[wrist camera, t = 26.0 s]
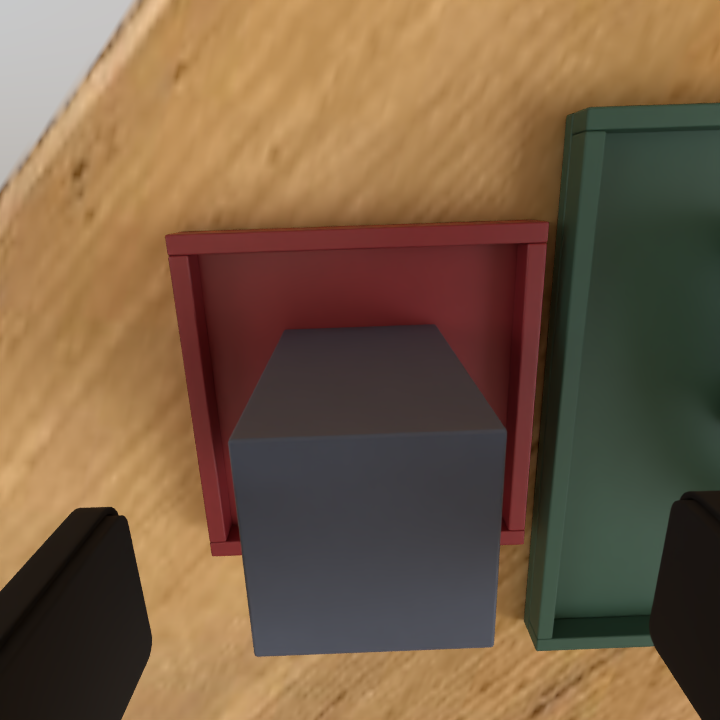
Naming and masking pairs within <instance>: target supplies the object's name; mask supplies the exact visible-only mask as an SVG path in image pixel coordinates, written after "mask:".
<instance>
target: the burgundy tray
mask: <svg viewBox="0 0 720 720" xmlns="http://www.w3.org/2000/svg"><path fill="white" fill-rule="evenodd" d="M548 230H549V222H547V221H538V220H508V221H479V222H450V223H421V224H392V225H363V226H334V227H305V228H276V229H247V230H218V231H189V232H178V233H173V234H168V235H165V239H166V246H167V253H168V255H169V258H168V259H169V266H170V272H171V279H172V286H173V293H174V300H175V307H176V313H177V320H178V327H179V334H180V341H181V347H182V354H183V361H184V368H185V375H186V382H187V388H188V395H189V402H190V409H191V416H192V422H193V429H194V436H195V443H196V450H197V457H198V463H199V470H200V477H201V484H202V491H203V497H204V504H205V511H206V518H207V525H208V532H209V538H210V546H211V553H212V556H233V555H242V551H241V543H240V535H239V527H238V519H237V511H236V503H235V495H234V487H233V479H232V471H231V463H230V455H229V447H228V441H229V438H230V436H231V434H232V432H233V431H234V429H235V427H236V425H237V423H238V421H239V419H240V417H241V415H242V413H243V411H244V409H245V407H246V405H247V403H248V401H249V399H250V397H251V395H252V393H253V391H254V389H255V387H256V385H257V383H258V381H259V379H260V377H261V375H262V373H263V371H264V369H265V367H266V365H267V363H268V361H269V360H270V358H271V356H272V354H273V352H274V350H275V348H276V346H277V344H278V342H279V340H280V338H281V336H282V334H283V332H284V330H288V329H316V328H344V327H372V326H399V325H427V324H435V325H436V326H437V328H438V329H439V331H440V332H441V334H442V335H443V337H444V338H445V339H446V341H447V342H448V344H449V345H450V347H451V348H452V350H453V351H454V353H455V354H456V356H457V357H458V359H459V360H460V362H461V363H462V365H463V366H464V368H465V369H466V371H467V372H468V374H469V375H470V377H471V378H472V380H473V381H474V382H475V384H476V385H477V387H478V388H479V390H480V391H481V393H482V394H483V396H484V397H485V399H486V400H487V402H488V403H489V405H490V406H491V408H492V409H493V411H494V412H495V414H496V415H497V417H498V418H499V420H500V421H501V423H502V424H503V426H504V427H505V428H506V431H507V442H506V458H505V474H504V490H503V506H502V522H501V538H500V545H517V544H524V533H525V531H524V529H525V518H526V505H527V492H528V480H529V467H530V455H531V442H532V429H533V417H534V404H535V391H536V379H537V366H538V353H539V341H540V328H541V315H542V303H543V290H544V278H545V265H546V252H547V243H546V242H547V241H548Z"/></svg>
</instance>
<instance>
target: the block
mask: <svg viewBox="0 0 720 720" xmlns="http://www.w3.org/2000/svg"><path fill="white" fill-rule="evenodd" d="M506 442H507V431H506V428H505V427H504V426H503V424H502V423H501V421H500V420H499V418H498V417H497V415H496V414H495V412H494V411H493V409H492V408H491V406H490V405H489V403H488V402H487V400H486V399H485V397H484V396H483V394H482V393H481V391H480V390H479V388H478V387H477V385H476V384H475V382H474V381H473V380H472V378H471V377H470V375H469V374H468V372H467V371H466V369H465V368H464V366H463V365H462V363H461V362H460V360H459V359H458V357H457V356H456V354H455V353H454V351H453V350H452V348H451V347H450V345H449V344H448V342H447V341H446V339H445V338H444V337H443V335H442V334H441V332H440V331H439V329H438V328H437V326H436V325H435V324H427V325H399V326H372V327H344V328H316V329H288V330H284V332H283V334H282V336H281V338H280V340H279V342H278V344H277V346H276V348H275V350H274V352H273V354H272V356H271V358H270V360H269V361H268V363H267V365H266V367H265V369H264V371H263V373H262V375H261V377H260V379H259V381H258V383H257V385H256V387H255V389H254V391H253V393H252V395H251V397H250V399H249V401H248V403H247V405H246V407H245V409H244V411H243V413H242V415H241V417H240V419H239V421H238V423H237V425H236V427H235V429H234V431H233V432H232V434H231V436H230V438H229V441H228V447H229V455H230V463H231V471H232V479H233V487H234V495H235V503H236V511H237V519H238V527H239V535H240V543H241V551H242V559H243V567H244V575H245V583H246V591H247V599H248V607H249V615H250V623H251V631H252V639H253V647H254V654H255V656H257V657H261V656H286V655H311V654H336V653H361V652H386V651H410V650H435V649H460V648H485V647H493V645H494V635H495V619H496V603H497V587H498V570H499V554H500V538H501V522H502V506H503V490H504V474H505V458H506Z"/></svg>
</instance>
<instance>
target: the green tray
mask: <svg viewBox="0 0 720 720" xmlns="http://www.w3.org/2000/svg"><path fill="white" fill-rule="evenodd" d="M717 490H720V103H697V104H667V105H637V106H607V107H589V108H586V109H583V110H581V111H578V112H576V113H573V114H570V115H568V116H567V117H566V129H565V141H564V153H563V165H562V177H561V188H560V200H559V212H558V224H557V236H556V248H555V260H554V272H553V283H552V295H551V307H550V319H549V331H548V343H547V355H546V367H545V378H544V390H543V402H542V414H541V426H540V438H539V450H538V462H537V473H536V485H535V497H534V509H533V521H532V533H531V545H530V557H529V568H528V580H527V592H526V604H525V616H524V622H525V625H526V627H527V629H528V632H529V634H530V637H531V639H532V642H533V644H534V646H535V649H536V650H537V651H551V650H575V649H600V648H625V647H650V646H654V645H653V642H652V639H651V636H650V632H649V621H650V615H651V610H652V605H653V599H654V594H655V589H656V584H657V578H658V573H659V568H660V563H661V557H662V552H663V547H664V542H665V536H666V531H667V526H668V521H669V515H670V510H671V507H672V504H673V503H674V502H675V501H677V500H680V498H681V496H682V495H683V494H684V493H685V492H688V491H717Z"/></svg>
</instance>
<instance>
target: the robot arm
mask: <svg viewBox="0 0 720 720" xmlns="http://www.w3.org/2000/svg"><path fill="white" fill-rule="evenodd" d="M649 632H650V636H651V639H652V642H653V645H654V646H655V648H656V650H657V651H658V653H659V655H660V656H661V658H662V659H663V661H664V662H665V664H666V665H667V667H668V668H669V670H670V672H671V673H672V675H673V676H674V678H675V679H676V681H677V682H678V684H679V685H680V687H681V689H682V690H683V692H684V693H685V695H686V696H687V698H688V699H689V701H690V703H691V704H692V706H693V707H694V709H695V710H696V712H697V713H698V715H699V716H700V718H701V720H720V490H717V491H688V492H685V493H684V494H683V495H682V496H681V498H680V500H677V501H675V502H674V503H673V504H672V507H671V510H670V515H669V521H668V526H667V531H666V536H665V542H664V547H663V552H662V557H661V563H660V568H659V573H658V578H657V584H656V589H655V594H654V599H653V605H652V610H651V615H650V621H649ZM151 646H152V634H151V629H150V625H149V620H148V615H147V610H146V606H145V601H144V596H143V591H142V587H141V582H140V577H139V572H138V568H137V563H136V558H135V553H134V549H133V544H132V539H131V534H130V530H129V525H128V521H127V519H126V517H125V516H122V515H121V516H119V515H118V513H117V511H116V510H115V508H112V507H96V508H78V509H75V510H74V511H73V512H72V513H71V514H70V515H69V516H68V517H67V518H66V519H65V520H64V521H63V523H62V524H61V525H60V526H59V527H58V528H57V529H56V530H55V531H54V533H53V534H52V535H51V536H50V537H49V538H48V539H47V540H46V541H45V543H44V544H43V545H42V546H41V547H40V548H39V549H38V550H37V551H36V553H35V554H34V555H33V556H32V557H31V558H30V559H29V560H28V561H27V562H26V564H25V565H24V566H23V567H22V568H21V569H20V570H19V571H18V572H17V574H16V575H15V576H14V577H13V578H12V579H11V580H10V581H9V582H8V584H7V585H6V586H5V587H4V588H3V589H2V590H1V591H0V720H121V719H122V717H123V714H124V712H125V710H126V708H127V706H128V703H129V701H130V699H131V697H132V695H133V692H134V690H135V688H136V686H137V684H138V681H139V679H140V677H141V675H142V673H143V670H144V668H145V666H146V664H147V661H148V659H149V656H150V652H151Z"/></svg>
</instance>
